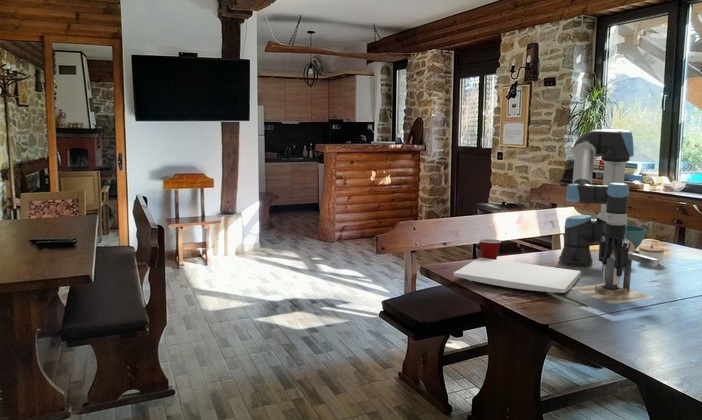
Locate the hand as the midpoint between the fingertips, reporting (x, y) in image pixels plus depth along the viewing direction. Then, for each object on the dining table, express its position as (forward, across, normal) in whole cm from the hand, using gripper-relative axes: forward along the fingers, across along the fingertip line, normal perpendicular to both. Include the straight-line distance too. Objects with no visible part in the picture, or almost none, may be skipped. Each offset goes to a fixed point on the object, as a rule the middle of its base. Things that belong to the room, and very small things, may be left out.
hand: (611, 282), depth 218 cm
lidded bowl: (+4, -38, +44) cm, 59 cm away
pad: (+6, -2, -17) cm, 18 cm away
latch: (-9, +6, +8) cm, 13 cm away
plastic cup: (+6, -60, -14) cm, 62 cm away
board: (+6, -30, -21) cm, 37 cm away
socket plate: (+6, 0, 0) cm, 6 cm away
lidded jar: (+7, -32, +59) cm, 67 cm away
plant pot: (+7, -58, +71) cm, 92 cm away
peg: (+3, 0, 0) cm, 3 cm away
